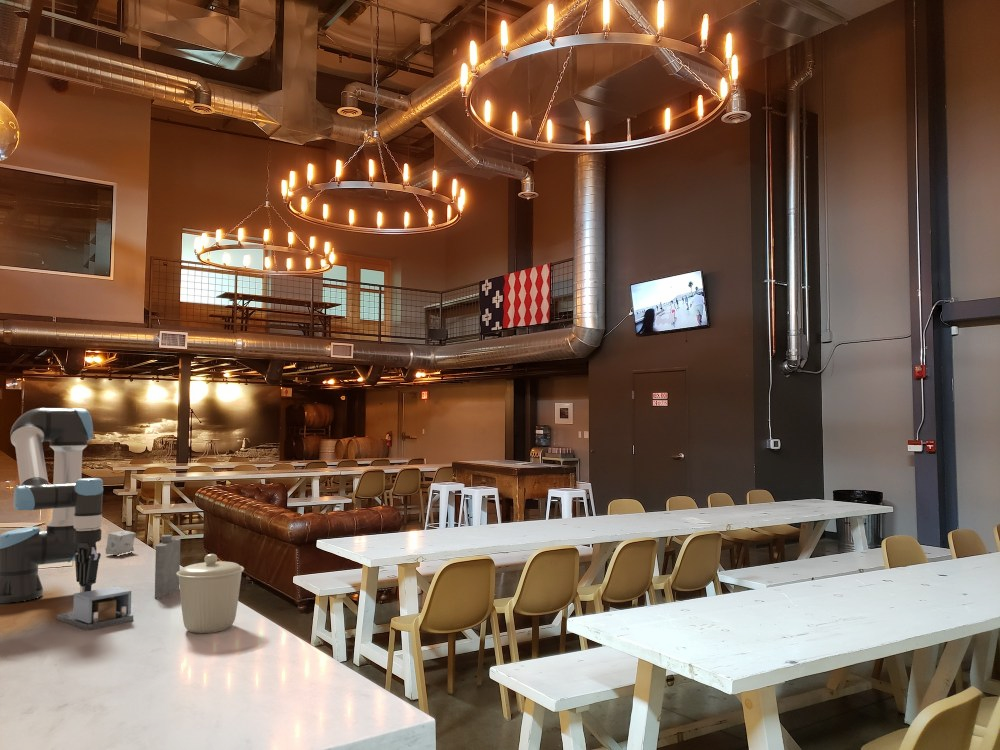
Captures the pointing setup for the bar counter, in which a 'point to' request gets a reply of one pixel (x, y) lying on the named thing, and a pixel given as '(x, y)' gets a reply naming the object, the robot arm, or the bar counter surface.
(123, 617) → the housing base
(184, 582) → the canister
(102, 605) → the light brown cube
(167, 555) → the hip flask
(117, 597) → the housing cover
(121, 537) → the incense holder
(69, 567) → the bar counter surface
